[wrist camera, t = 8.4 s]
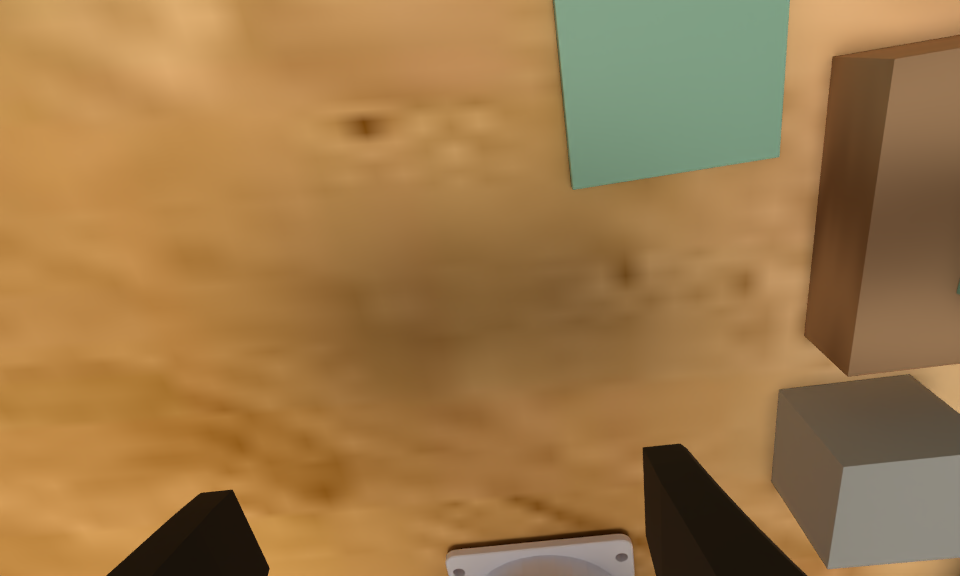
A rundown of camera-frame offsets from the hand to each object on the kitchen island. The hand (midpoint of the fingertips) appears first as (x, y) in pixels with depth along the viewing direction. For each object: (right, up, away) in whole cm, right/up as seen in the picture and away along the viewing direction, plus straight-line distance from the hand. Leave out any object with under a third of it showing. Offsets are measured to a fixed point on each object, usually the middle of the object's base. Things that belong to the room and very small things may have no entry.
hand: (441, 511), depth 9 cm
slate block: (+14, -1, +11) cm, 18 cm away
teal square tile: (+6, +10, +5) cm, 13 cm away
